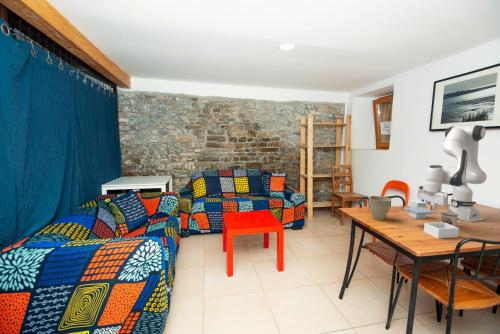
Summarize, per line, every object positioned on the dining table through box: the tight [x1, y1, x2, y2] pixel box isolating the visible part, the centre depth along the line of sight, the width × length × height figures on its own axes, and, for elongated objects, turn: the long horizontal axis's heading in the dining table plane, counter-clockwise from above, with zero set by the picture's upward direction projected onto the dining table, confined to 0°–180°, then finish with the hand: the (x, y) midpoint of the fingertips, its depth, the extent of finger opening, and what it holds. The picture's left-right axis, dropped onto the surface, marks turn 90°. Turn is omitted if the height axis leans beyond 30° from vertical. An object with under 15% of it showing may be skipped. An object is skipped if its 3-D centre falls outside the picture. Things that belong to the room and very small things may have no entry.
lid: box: [403, 204, 438, 215], centre depth 156 cm, size 17×11×5 cm, turn 97°
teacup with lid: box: [440, 208, 463, 227], centre depth 158 cm, size 12×9×12 cm
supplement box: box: [409, 200, 427, 220], centre depth 176 cm, size 7×7×13 cm
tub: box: [423, 221, 460, 239], centre depth 144 cm, size 14×10×6 cm
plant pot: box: [368, 195, 392, 221], centre depth 171 cm, size 15×15×16 cm
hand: (430, 208), depth 157 cm, fingers closed on lid, 2 cm apart
